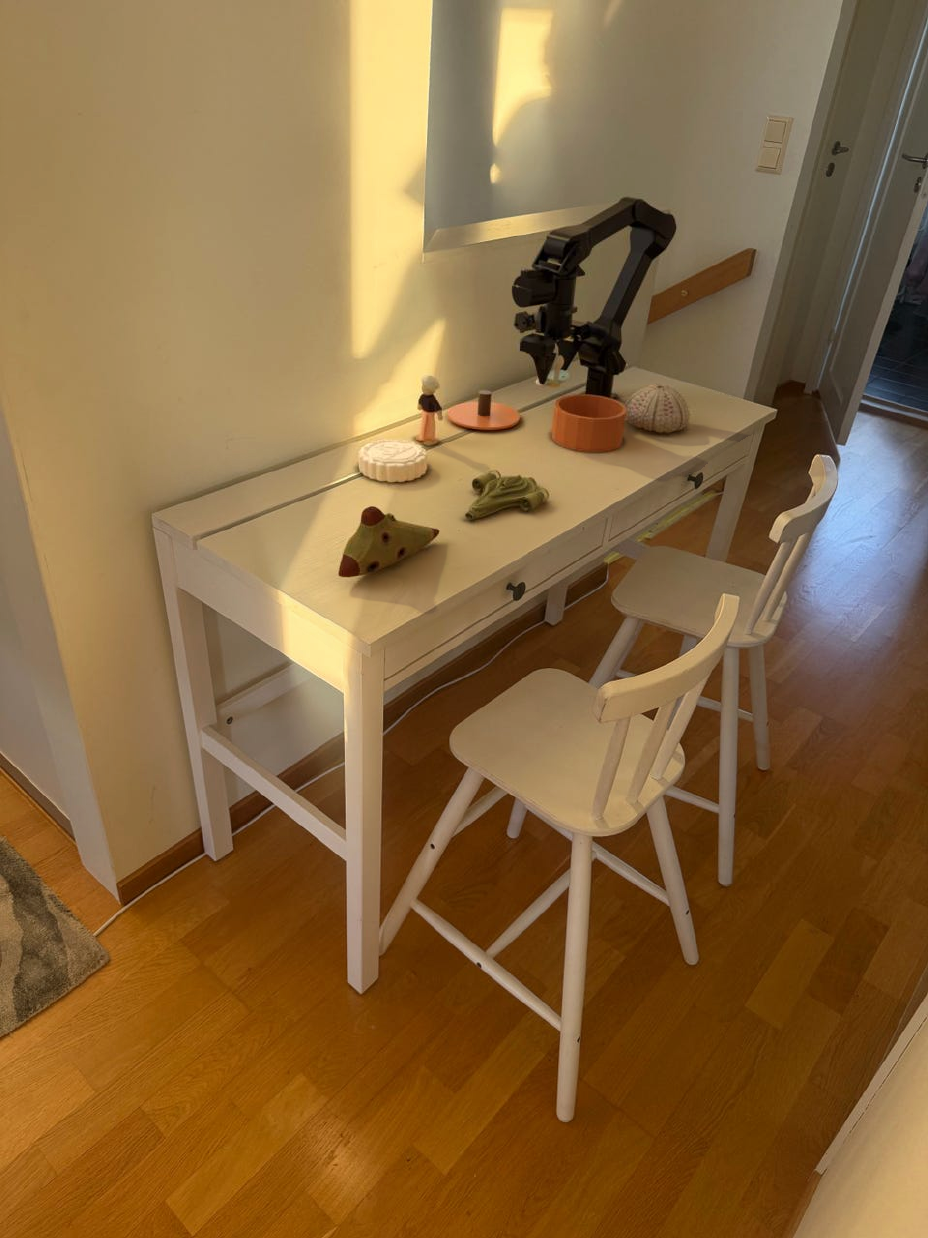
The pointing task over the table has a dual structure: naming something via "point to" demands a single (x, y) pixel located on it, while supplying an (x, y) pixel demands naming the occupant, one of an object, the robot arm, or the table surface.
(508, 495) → the spaceship toy
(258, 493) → the table surface
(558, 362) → the pacifier
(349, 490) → the table surface
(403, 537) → the ocarina
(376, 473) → the mooncake
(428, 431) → the grandmother figurine
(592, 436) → the pot
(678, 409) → the sea urchin shell
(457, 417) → the lid
